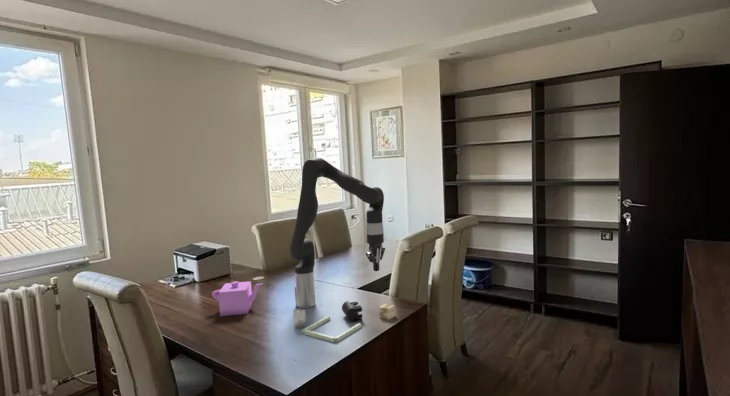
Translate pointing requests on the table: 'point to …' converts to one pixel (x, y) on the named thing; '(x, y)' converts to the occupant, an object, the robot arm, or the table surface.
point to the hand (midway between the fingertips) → (376, 270)
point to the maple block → (386, 311)
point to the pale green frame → (326, 337)
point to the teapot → (235, 297)
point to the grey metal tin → (299, 318)
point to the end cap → (352, 311)
